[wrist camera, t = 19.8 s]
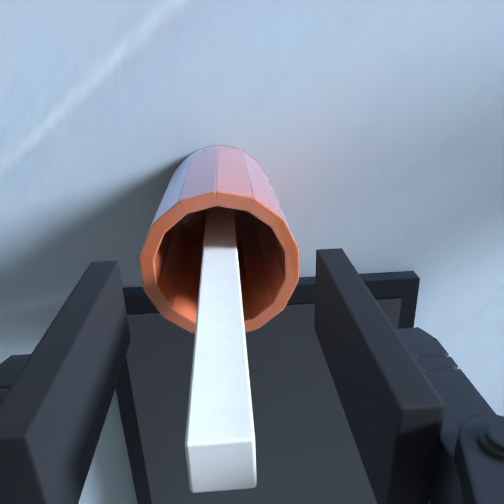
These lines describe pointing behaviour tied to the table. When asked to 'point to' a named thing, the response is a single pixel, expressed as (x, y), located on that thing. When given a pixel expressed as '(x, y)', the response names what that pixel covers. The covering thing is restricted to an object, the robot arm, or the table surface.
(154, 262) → the pen cup
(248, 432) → the stylus
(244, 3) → the table surface
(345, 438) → the tablet
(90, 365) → the robot arm
